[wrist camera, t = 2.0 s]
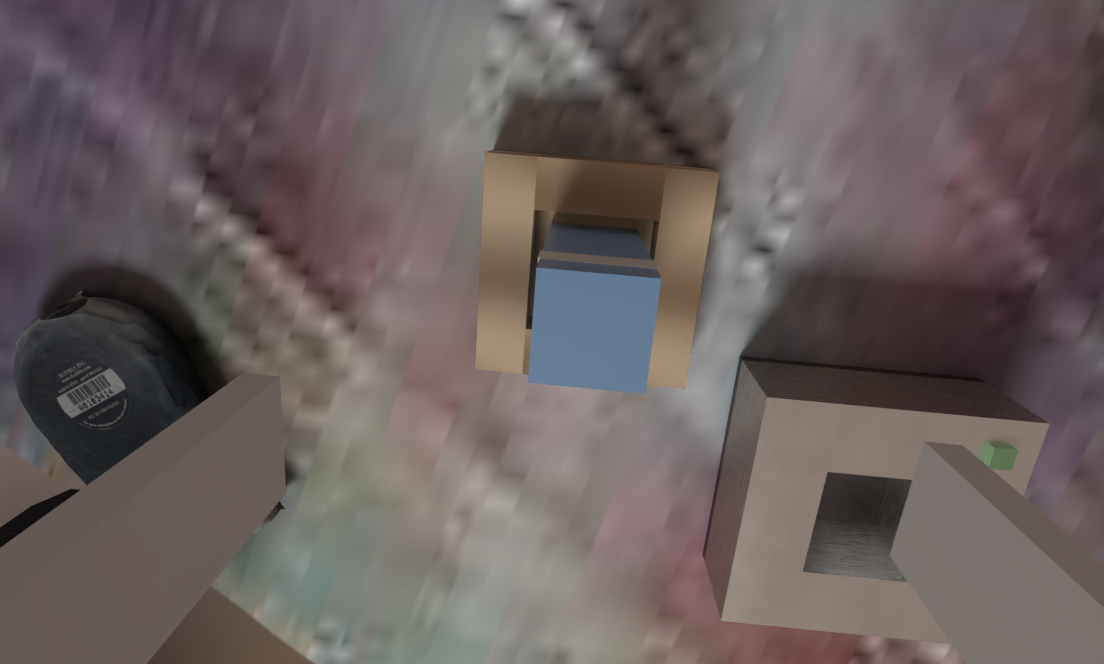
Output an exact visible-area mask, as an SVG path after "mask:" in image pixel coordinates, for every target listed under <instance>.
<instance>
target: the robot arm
mask: <svg viewBox="0 0 1104 664" xmlns="http://www.w3.org/2000/svg"><path fill="white" fill-rule="evenodd" d="M285 494H286V480H285V462H284V444H283V425H282V407H281V389H280V377H278V376H269V375H259V374H249V373H242V374H241V375H240V376H238V377H237V378H235V379H234V380H233V381H231V382H230V383H228V384H227V385H226V386H224V387H223V388H221V389H220V390H219V391H217V392H216V393H215V394H213V395H212V396H210V397H209V398H208V399H206V400H205V401H203V402H202V403H201V404H199V405H198V406H196V407H195V408H194V409H192V410H191V411H190V412H188V413H187V414H185V415H184V416H183V417H181V418H180V419H178V420H177V421H176V422H174V423H173V424H171V425H170V426H169V427H167V428H166V429H165V430H163V431H162V432H160V433H159V434H158V435H156V436H155V437H153V438H152V439H151V440H149V441H148V442H146V443H145V444H144V445H142V446H141V447H140V448H138V449H137V450H135V451H134V452H133V453H131V454H130V455H128V456H127V457H126V458H124V459H123V460H122V461H120V462H119V463H117V464H116V465H115V466H113V467H112V468H110V469H109V470H108V471H106V472H105V473H103V474H102V475H101V476H99V477H98V478H97V479H95V480H94V481H92V482H91V483H90V484H88V485H87V486H85V487H84V488H83V489H81V490H76V489H70V490H68V491H65V492H63V493H61V494H58V495H56V496H54V497H52V498H49V499H47V500H45V501H42V502H40V503H38V504H35V505H33V506H31V507H30V508H28V509H26V510H25V511H24V512H22V513H21V514H19V515H18V516H17V517H15V518H13V519H12V520H10V521H9V522H8V523H6V524H5V525H3V526H2V527H0V664H147V663H148V661H149V660H150V659H151V657H153V655H154V654H155V653H156V652H157V650H158V649H159V648H160V647H161V646H162V644H163V643H164V641H166V639H167V638H168V637H169V636H170V635H171V633H172V632H173V631H174V629H175V628H176V627H177V626H178V625H179V623H180V622H181V621H182V620H183V619H184V617H185V616H186V615H187V614H188V612H189V611H190V610H191V609H192V607H193V606H194V605H195V604H196V603H197V601H198V600H199V599H200V598H201V596H202V595H203V594H204V593H205V592H206V590H207V589H208V588H209V587H210V586H211V584H212V583H213V582H214V581H215V579H216V578H217V577H218V576H219V575H220V573H221V572H222V571H223V570H224V568H225V567H226V566H227V565H228V563H229V562H230V561H231V560H232V559H233V557H234V556H235V555H236V554H237V552H238V551H239V550H240V549H241V548H242V546H243V545H244V544H245V543H246V541H247V540H248V539H249V538H250V537H251V535H252V534H253V533H254V532H255V530H256V529H257V528H258V527H259V526H260V524H261V523H262V522H263V521H264V519H265V518H266V517H267V516H268V514H269V513H270V512H271V511H272V510H273V508H274V507H275V506H276V505H277V503H278V502H279V501H280V500H281V499H282V497H283V496H284V495H285ZM889 556H890V557H891V559H892V560H893V562H894V563H895V565H896V566H897V567H898V569H899V570H900V572H901V573H902V574H903V576H904V577H905V579H906V580H907V581H908V583H909V584H910V586H911V587H912V589H913V590H914V591H915V593H916V594H917V596H918V597H919V598H920V600H921V601H922V603H923V604H924V606H925V607H926V608H927V610H928V611H929V613H930V614H931V615H932V617H933V618H934V620H935V621H936V622H937V624H938V625H939V627H940V628H941V630H942V631H943V632H944V634H945V635H946V637H947V638H948V639H949V641H950V642H951V644H952V645H953V646H954V648H955V649H956V651H957V652H958V654H959V655H960V656H961V658H962V659H963V661H964V662H965V663H966V664H1104V564H1103V563H1102V562H1100V561H1099V560H1098V559H1097V558H1096V557H1095V556H1093V555H1092V554H1091V553H1090V552H1089V551H1087V550H1086V549H1085V548H1084V547H1083V546H1082V545H1080V544H1079V543H1078V542H1077V541H1076V540H1074V539H1073V538H1072V537H1071V536H1070V535H1069V534H1067V533H1066V532H1065V531H1064V530H1063V529H1061V528H1060V527H1059V526H1058V525H1057V524H1055V523H1054V522H1053V521H1052V520H1051V519H1050V518H1048V517H1047V516H1046V515H1045V514H1044V513H1042V512H1041V511H1040V510H1039V509H1038V508H1037V507H1035V506H1034V505H1033V504H1032V503H1031V502H1029V501H1028V500H1027V499H1026V498H1025V497H1024V496H1022V495H1021V494H1020V493H1019V492H1018V491H1016V490H1015V489H1014V488H1013V487H1012V486H1010V485H1009V484H1008V483H1007V482H1006V481H1005V480H1003V479H1002V478H1001V477H1000V476H999V475H997V474H996V473H995V472H994V471H993V470H992V469H990V468H989V467H988V466H987V465H986V464H984V463H983V462H982V461H981V460H980V459H979V458H977V457H976V456H975V455H974V454H973V453H971V452H970V451H969V450H968V449H967V448H965V447H964V446H963V445H956V444H946V443H936V442H926V441H924V444H923V447H922V450H921V454H920V457H919V460H918V464H917V467H916V470H915V473H914V477H913V480H912V483H911V486H910V490H909V493H908V496H907V499H906V503H905V506H904V509H903V512H902V516H901V519H900V522H899V526H898V529H897V532H896V535H895V539H894V542H893V545H892V548H891V552H890V555H889Z"/></svg>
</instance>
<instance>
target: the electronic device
mask: <svg viewBox="0 0 1104 664" xmlns="http://www.w3.org/2000/svg"><path fill="white" fill-rule="evenodd" d="M82 291H83V290H81V291H80V292H79V293H78V294H77V295H76V296H75V297H73V298H72V299H70V300H69V301H67V302H66V303H64V304H63V305H61V306H60V307H58V308H57V309H56V310H55V311H53V312H52V313H51V314H50V315H49V316H47V317H46V318H45V319H39V318H37V319H35V320H34V321H33V322H32V323H31V324H30V325H29V326H28V327H27V328H26V329H25V330H24V332H23V333H22V334H21V336H20V338H19V339H18V341H17V343H16V345H17V347H18V349H17V353H16V357H15V365H14V373H15V382H16V387H17V391H18V394H19V397H20V400H21V402H22V403H23V405H24V407H25V409H26V411H27V412H28V414H29V415H30V416H31V419H32V421H33V422H34V424H35V425H36V426H37V427H38V428H39V430H40V431H41V432H42V433H43V435H44V436H45V437H46V438H47V439H48V440H49V442H50V444H51V445H52V446H53V447H54V449H55V450H56V451H57V452H58V453H60V455H61V457H62V458H63V459H64V461H65V462H66V463H67V465H68V466H69V467H70V468H71V469H72V470H73V471H74V472H75V473H76V474H77V475H78V476H79V477H80V478H81V479H82V480H83V482H84V483H85V484H86V485H88V484H90V483H91V482H92V481H94V480H95V479H97V478H98V477H99V476H101V475H102V474H103V473H105V472H106V471H108V470H109V469H110V468H112V467H113V466H115V465H116V464H117V463H119V462H120V461H122V460H123V459H124V458H126V457H127V456H128V455H130V454H131V453H133V452H134V451H135V450H137V449H138V448H140V447H141V446H142V445H144V444H145V443H146V442H148V441H149V440H151V439H152V438H153V437H155V436H156V435H158V434H159V433H160V432H162V431H163V430H165V429H166V428H167V427H169V426H170V425H171V424H173V423H174V422H176V421H177V420H178V419H180V418H181V417H183V416H184V415H185V414H187V413H188V412H190V411H191V410H192V409H194V408H195V407H196V406H198V405H199V404H201V403H202V402H203V401H205V400H206V399H207V397H206V394H205V393H204V391H203V389H202V388H201V386H200V384H198V382H197V380H196V378H195V372H194V370H193V368H192V365H191V363H190V360H189V358H188V356H187V355H186V354H185V353H184V352H183V350H182V348H181V345H180V343H179V340H178V339H177V338H176V337H175V335H174V334H173V333H172V332H171V331H170V330H169V329H168V328H167V327H166V325H164V324H163V323H161V322H160V321H158V320H157V319H156V318H155V317H153V316H152V315H151V314H149V313H147V312H145V311H143V310H142V309H140V308H138V307H136V306H133V305H131V304H129V303H126V302H123V301H119V300H112V299H107V298H102V297H86V296H82V295H81V294H82ZM280 509H285V508H284V507H283V506H282V505H281V503H280V501H279V502H278V503H277V505H276V506H275V507H274V508H273V510H272V511H271V512H270V513H269V514H268V516H267V517H266V518H265V519H264V521H263V522H262V523H261V524H260V526H259V527H258V528H257V529H256V530H255V532H254V533H256V532H257V531H259V530H260V529H261V528H262V527H263V525H264V524H266V523H267V522H269V521H272V520H273V518H274V517H275V516H276V515H277V514H278V512H279V511H280ZM254 533H253V534H254Z"/></svg>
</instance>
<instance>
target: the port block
mask: <svg viewBox="0 0 1104 664" xmlns="http://www.w3.org/2000/svg"><path fill="white" fill-rule="evenodd" d="M1049 425H1050V423H1048V422H1046V421H1045V420H1043V419H1042V418H1040V417H1039V416H1037V415H1036V414H1034V413H1032V412H1031V411H1029V410H1028V409H1026V408H1025V407H1023V406H1022V405H1020V404H1018V403H1017V402H1015V401H1014V400H1012V399H1011V398H1009V397H1007V396H1006V395H1004V394H1003V393H1001V392H1000V391H998V390H997V389H995V388H993V387H992V386H990V385H989V384H987V383H986V382H984V381H983V380H981V379H978V378H967V377H956V376H945V375H935V374H924V373H913V372H902V371H891V370H880V369H870V368H859V367H848V366H837V365H826V364H815V363H804V362H794V361H783V360H772V359H761V358H750V357H740V358H739V364H738V369H737V374H736V380H735V385H734V390H733V396H732V401H731V406H730V412H729V417H728V422H727V428H726V433H725V438H724V444H723V449H722V454H721V460H720V465H719V470H718V476H717V481H716V486H715V492H714V497H713V502H712V508H711V513H710V518H709V524H708V529H707V534H706V540H705V545H704V550H703V557H704V561H705V564H706V568H707V572H708V575H709V579H710V583H711V586H712V590H713V593H714V597H715V601H716V604H717V608H718V612H719V615H720V619H721V621H730V622H740V623H750V624H759V625H769V626H779V627H789V628H799V629H809V630H819V631H829V632H838V633H848V634H858V635H868V636H878V637H888V638H898V639H908V640H918V641H927V642H937V643H947V644H951V642H950V641H949V639H948V638H947V637H946V635H945V634H944V632H943V631H942V630H941V628H940V627H939V625H938V624H937V622H936V621H935V620H934V618H933V617H932V615H931V614H930V613H929V611H928V610H927V608H926V607H925V606H924V604H923V603H922V601H921V600H920V598H919V597H918V596H917V594H916V593H915V591H914V590H913V589H912V587H911V586H910V584H909V583H908V581H907V580H906V579H905V577H904V576H903V574H902V573H901V572H900V570H899V569H898V567H897V566H896V565H895V563H894V562H893V560H892V559H891V557H890V556H889V555H890V552H891V548H892V545H893V542H894V539H895V535H896V532H897V529H898V526H899V522H900V519H901V516H902V512H903V509H904V506H905V503H906V499H907V496H908V493H909V490H910V486H911V483H912V480H913V477H914V473H915V470H916V467H917V464H918V460H919V457H920V454H921V450H922V447H923V444H924V441H926V442H936V443H946V444H956V445H963V446H964V447H965V448H967V449H968V450H969V451H970V452H971V453H973V454H974V455H975V456H976V457H977V458H979V459H980V460H981V461H982V462H983V463H984V464H986V465H987V466H988V467H989V468H990V469H992V470H993V471H994V472H995V473H996V474H997V475H999V476H1000V477H1001V478H1002V479H1003V480H1005V481H1006V482H1007V483H1008V484H1009V485H1010V486H1012V487H1013V488H1014V489H1015V490H1016V491H1018V492H1019V493H1020V494H1021V495H1022V496H1023V495H1024V493H1025V490H1026V487H1027V484H1028V482H1029V479H1030V476H1031V474H1032V471H1033V468H1034V465H1035V463H1036V460H1037V457H1038V455H1039V452H1040V449H1041V446H1042V444H1043V441H1044V438H1045V436H1046V433H1047V430H1048V427H1049Z"/></svg>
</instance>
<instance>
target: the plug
mask: <svg viewBox="0 0 1104 664" xmlns="http://www.w3.org/2000/svg"><path fill="white" fill-rule="evenodd" d="M660 286H661V277H660V275H659V273H658V266H657V264H656V262H655V261H654V260H652V259H651V257H650V255H649V253H648V251H647V249H646V247H645V245H644V243H643V241H642V239H641V237H640V235H639V233H638V231H637V229H628V228H616V227H605V226H594V225H582V224H571V223H560V222H552V223H551V226H550V229H549V232H548V235H547V238H546V241H545V244H544V247H543V250H542V251H541V250H540V253H539V256H538V264H537V267H536V280H535V294H534V307H533V321H532V334H531V348H530V361H529V375H528V383H538V384H548V385H559V386H570V387H580V388H591V389H602V390H612V391H623V392H634V393H644V394H645V393H646V386H647V379H648V372H649V365H650V358H651V350H652V343H653V336H654V329H655V322H656V314H657V307H658V300H659V293H660Z"/></svg>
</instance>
